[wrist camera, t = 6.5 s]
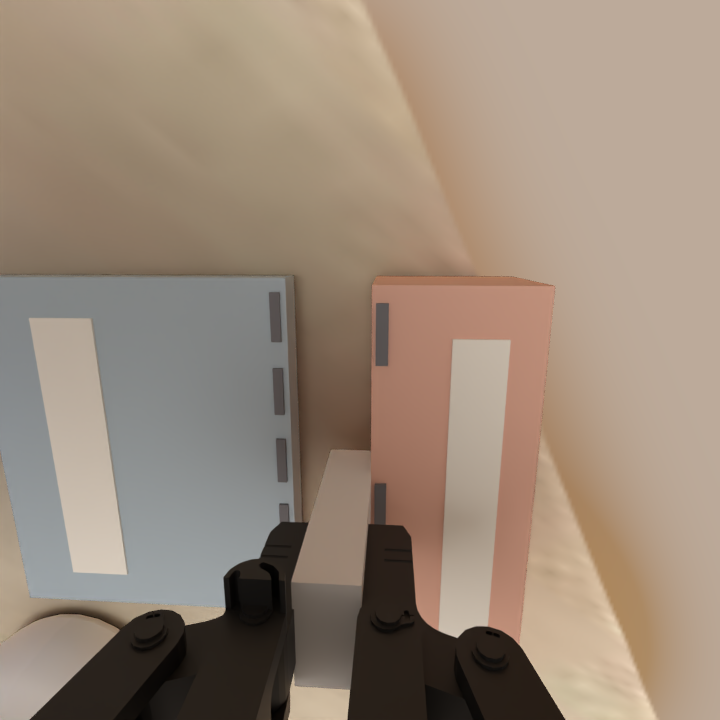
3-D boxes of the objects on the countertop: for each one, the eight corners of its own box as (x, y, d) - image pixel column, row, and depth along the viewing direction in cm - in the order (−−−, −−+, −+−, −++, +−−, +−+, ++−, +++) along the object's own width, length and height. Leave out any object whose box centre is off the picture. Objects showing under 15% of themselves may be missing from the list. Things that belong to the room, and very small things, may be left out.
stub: (376, 275, 17) (371, 285, 13) (512, 276, 17) (557, 286, 12) (374, 592, 20) (369, 689, 16) (486, 597, 20) (515, 697, 16)
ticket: (-2, 274, 18) (-39, 277, 17) (294, 275, 17) (284, 278, 16) (54, 573, 21) (28, 599, 20) (304, 585, 21) (297, 613, 19)
